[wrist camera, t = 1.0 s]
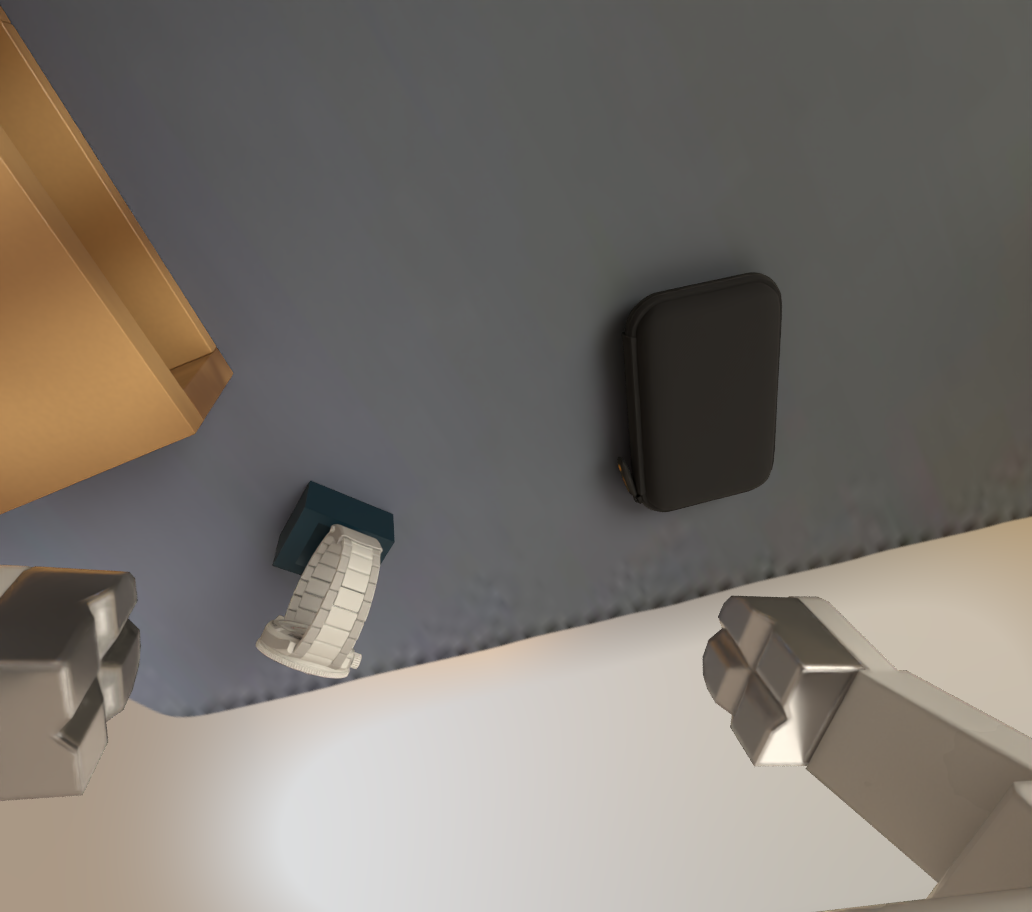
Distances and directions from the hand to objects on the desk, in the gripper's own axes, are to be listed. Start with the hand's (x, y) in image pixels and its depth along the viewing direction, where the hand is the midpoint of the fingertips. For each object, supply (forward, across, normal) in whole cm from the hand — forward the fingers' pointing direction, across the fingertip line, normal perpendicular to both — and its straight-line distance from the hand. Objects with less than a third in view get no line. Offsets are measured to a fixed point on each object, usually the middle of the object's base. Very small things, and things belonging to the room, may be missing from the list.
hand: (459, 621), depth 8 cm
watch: (+28, +2, +16) cm, 32 cm away
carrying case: (+28, -18, +4) cm, 34 cm away
